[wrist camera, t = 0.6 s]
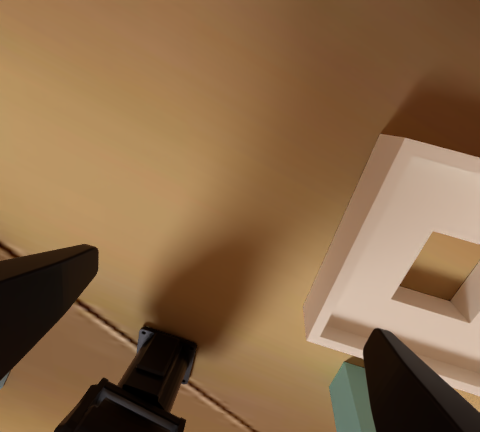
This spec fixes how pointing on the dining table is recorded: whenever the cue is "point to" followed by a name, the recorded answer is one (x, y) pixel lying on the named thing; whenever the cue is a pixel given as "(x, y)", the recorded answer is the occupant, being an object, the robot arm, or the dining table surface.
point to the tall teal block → (351, 400)
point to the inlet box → (402, 260)
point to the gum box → (3, 380)
